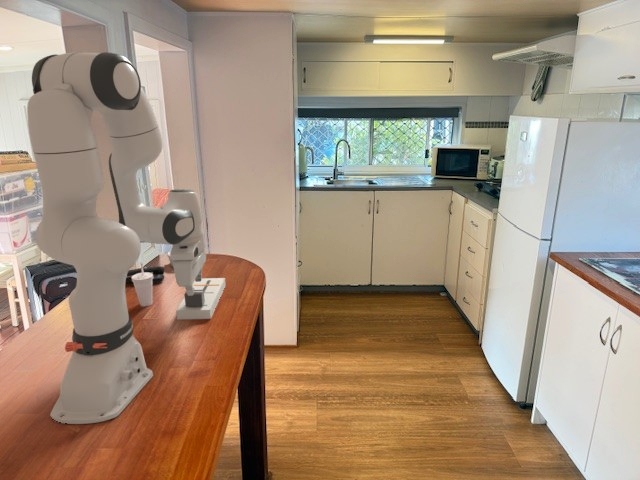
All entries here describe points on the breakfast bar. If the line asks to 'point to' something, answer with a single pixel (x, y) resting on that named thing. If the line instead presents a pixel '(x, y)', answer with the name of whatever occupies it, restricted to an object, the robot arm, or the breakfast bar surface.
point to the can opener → (156, 271)
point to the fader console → (211, 294)
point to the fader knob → (195, 298)
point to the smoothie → (143, 286)
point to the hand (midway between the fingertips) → (195, 287)
